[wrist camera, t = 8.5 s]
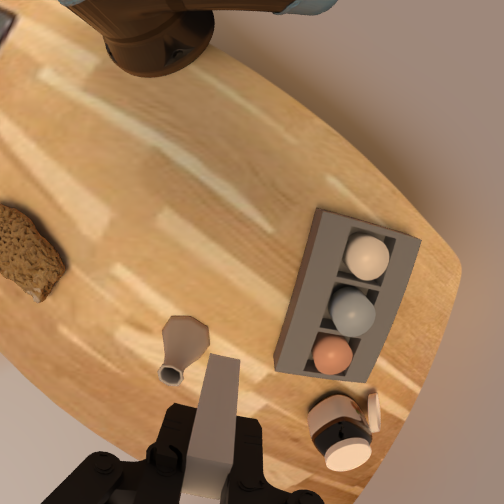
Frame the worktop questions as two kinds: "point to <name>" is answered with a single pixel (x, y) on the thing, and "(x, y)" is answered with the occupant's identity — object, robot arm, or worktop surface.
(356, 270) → the button ivory
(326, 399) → the spread jar
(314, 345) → the button terracotta
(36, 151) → the worktop surface
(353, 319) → the button slate
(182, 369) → the flask
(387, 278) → the panel
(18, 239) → the sponge
